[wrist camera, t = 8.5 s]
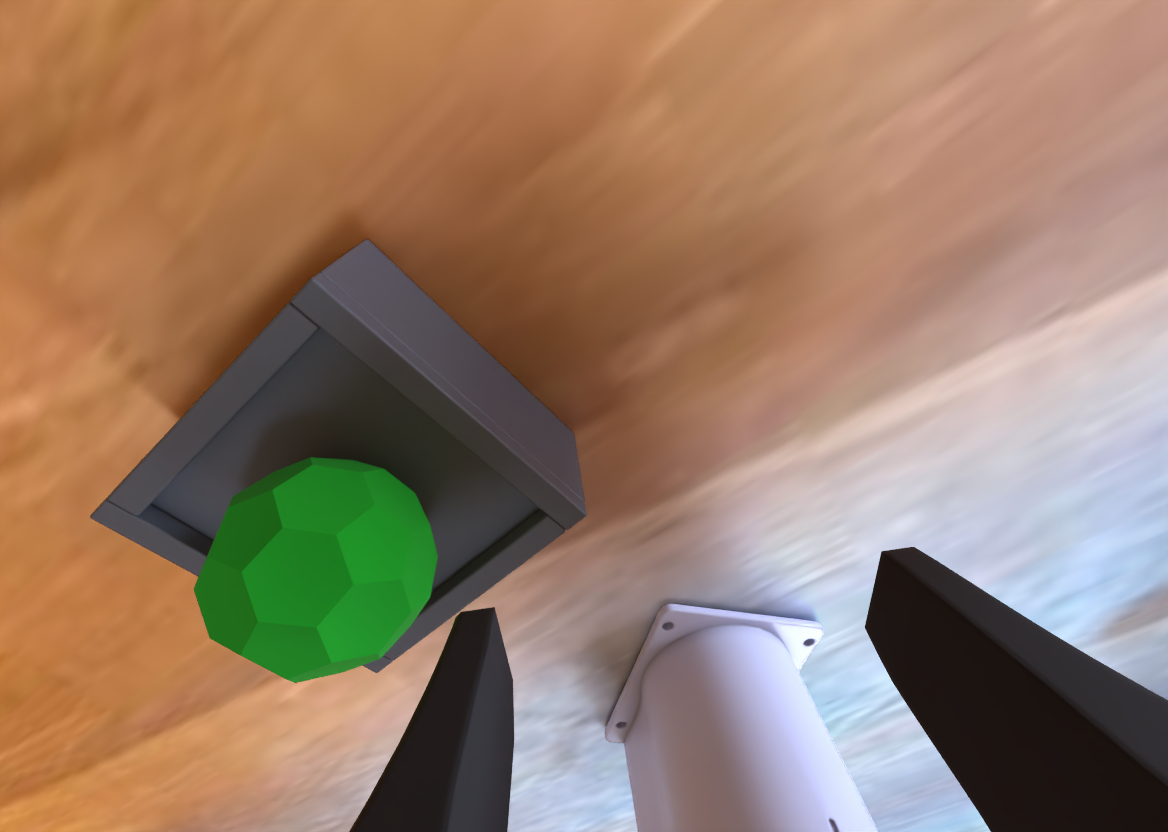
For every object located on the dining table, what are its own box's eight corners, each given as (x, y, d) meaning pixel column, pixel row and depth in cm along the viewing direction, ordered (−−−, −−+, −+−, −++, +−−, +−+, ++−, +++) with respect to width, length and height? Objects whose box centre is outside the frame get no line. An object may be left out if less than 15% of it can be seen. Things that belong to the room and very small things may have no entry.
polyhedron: (228, 431, 14) (95, 569, 9) (426, 413, 14) (383, 539, 10) (291, 578, 16) (207, 740, 12) (459, 560, 16) (436, 712, 12)
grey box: (574, 433, 19) (588, 515, 15) (405, 570, 21) (376, 674, 17) (366, 237, 15) (311, 277, 11) (187, 428, 18) (87, 517, 14)
